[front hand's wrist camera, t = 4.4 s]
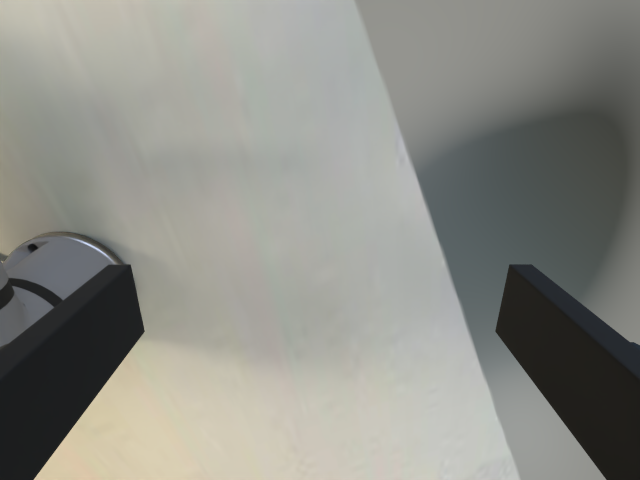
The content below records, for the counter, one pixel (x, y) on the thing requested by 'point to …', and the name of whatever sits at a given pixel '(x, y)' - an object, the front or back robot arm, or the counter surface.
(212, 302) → the counter surface
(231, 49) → the counter surface
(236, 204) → the counter surface
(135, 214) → the counter surface
